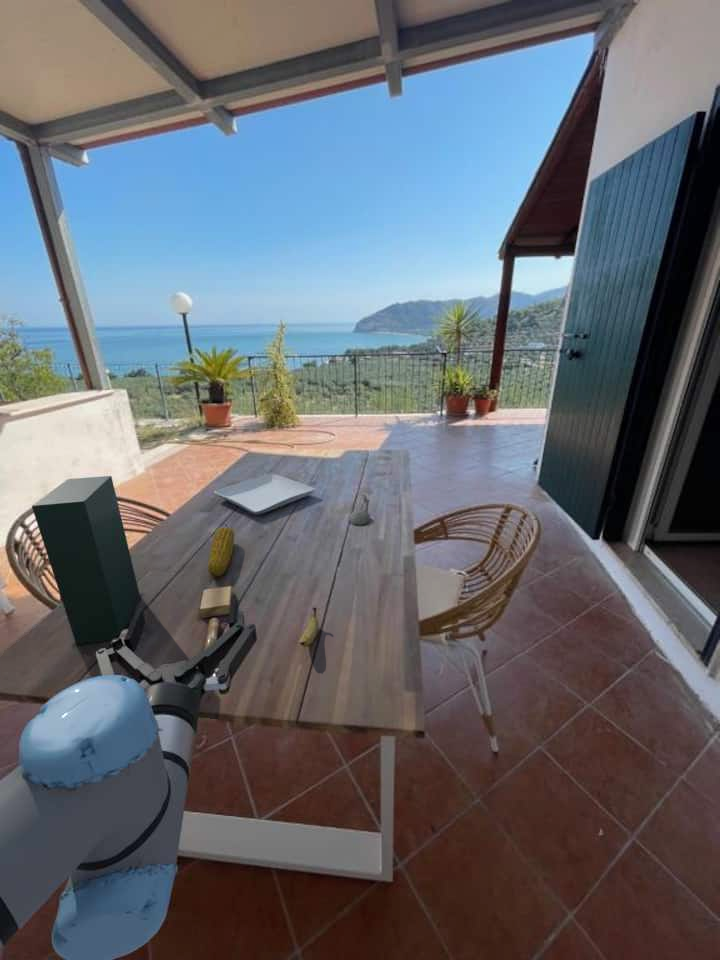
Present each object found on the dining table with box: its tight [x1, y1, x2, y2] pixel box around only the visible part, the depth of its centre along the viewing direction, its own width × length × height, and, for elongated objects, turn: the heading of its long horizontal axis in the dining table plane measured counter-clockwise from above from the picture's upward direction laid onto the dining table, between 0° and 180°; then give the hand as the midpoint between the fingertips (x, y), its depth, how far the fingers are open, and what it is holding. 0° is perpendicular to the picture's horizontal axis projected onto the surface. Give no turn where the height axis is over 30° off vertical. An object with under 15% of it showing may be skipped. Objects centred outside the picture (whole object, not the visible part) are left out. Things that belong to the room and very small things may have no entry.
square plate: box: [213, 473, 316, 516], centre depth 146 cm, size 27×27×4 cm
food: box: [207, 526, 235, 578], centre depth 105 cm, size 21×6×6 cm, turn 13°
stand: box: [31, 475, 141, 646], centre depth 79 cm, size 8×14×30 cm, turn 14°
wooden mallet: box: [199, 585, 233, 672], centre depth 80 cm, size 6×24×2 cm, turn 14°
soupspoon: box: [349, 494, 371, 526], centre depth 135 cm, size 22×3×7 cm
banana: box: [298, 607, 319, 647], centre depth 77 cm, size 10×2×4 cm, turn 172°
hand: (189, 609), depth 61 cm, fingers open, 13 cm apart
